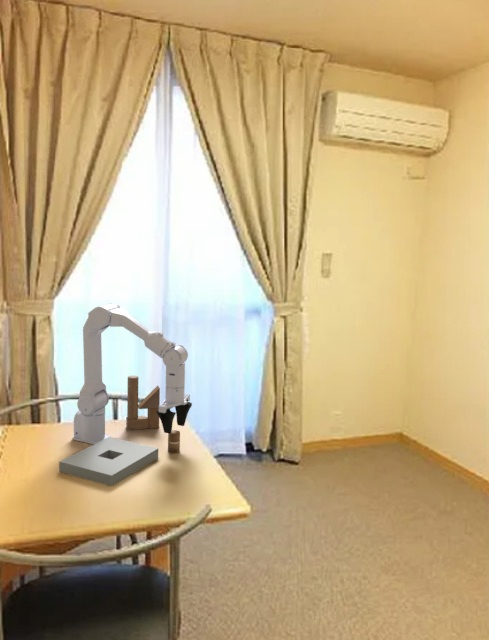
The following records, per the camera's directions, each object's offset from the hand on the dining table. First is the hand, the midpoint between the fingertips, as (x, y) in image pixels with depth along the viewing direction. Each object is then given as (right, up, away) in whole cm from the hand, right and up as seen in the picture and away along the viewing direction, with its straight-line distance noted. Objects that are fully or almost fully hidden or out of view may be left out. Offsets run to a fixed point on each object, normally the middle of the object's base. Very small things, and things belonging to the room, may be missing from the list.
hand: (174, 428), depth 181 cm
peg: (0, -7, +1) cm, 7 cm away
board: (-17, -8, -11) cm, 22 cm away
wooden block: (-13, -3, +20) cm, 24 cm away
